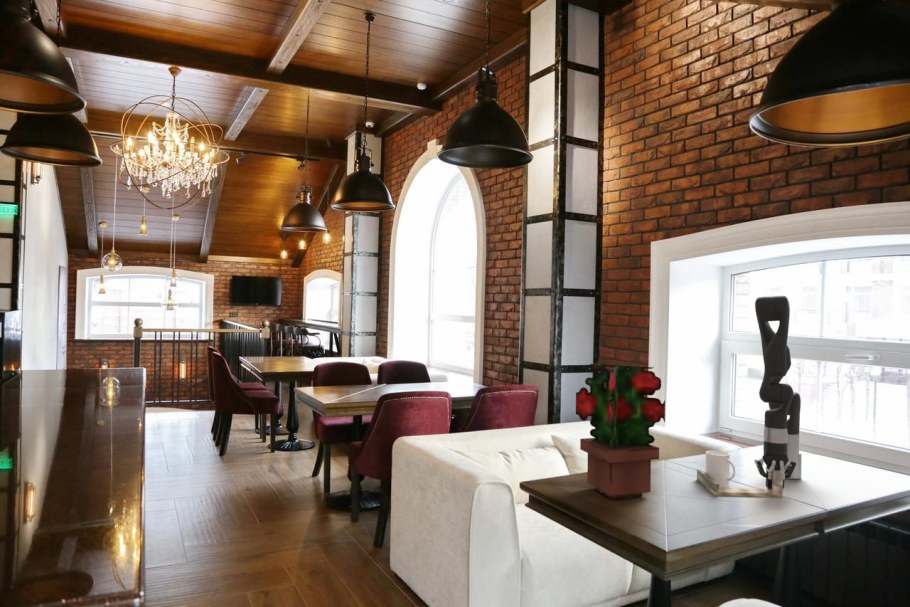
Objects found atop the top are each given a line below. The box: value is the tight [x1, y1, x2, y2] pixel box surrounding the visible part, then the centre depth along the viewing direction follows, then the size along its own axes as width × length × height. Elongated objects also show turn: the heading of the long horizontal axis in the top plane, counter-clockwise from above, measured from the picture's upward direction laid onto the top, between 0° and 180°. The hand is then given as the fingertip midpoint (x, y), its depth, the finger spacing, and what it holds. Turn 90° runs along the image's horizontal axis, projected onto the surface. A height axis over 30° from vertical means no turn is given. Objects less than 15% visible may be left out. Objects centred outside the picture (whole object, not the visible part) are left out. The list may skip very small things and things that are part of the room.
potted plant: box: [575, 362, 666, 500], centre depth 218 cm, size 22×22×45 cm
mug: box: [705, 449, 736, 488], centre depth 227 cm, size 12×8×12 cm
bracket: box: [696, 468, 784, 498], centre depth 224 cm, size 23×19×9 cm
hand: (774, 489), depth 217 cm, fingers closed on bracket, 3 cm apart
